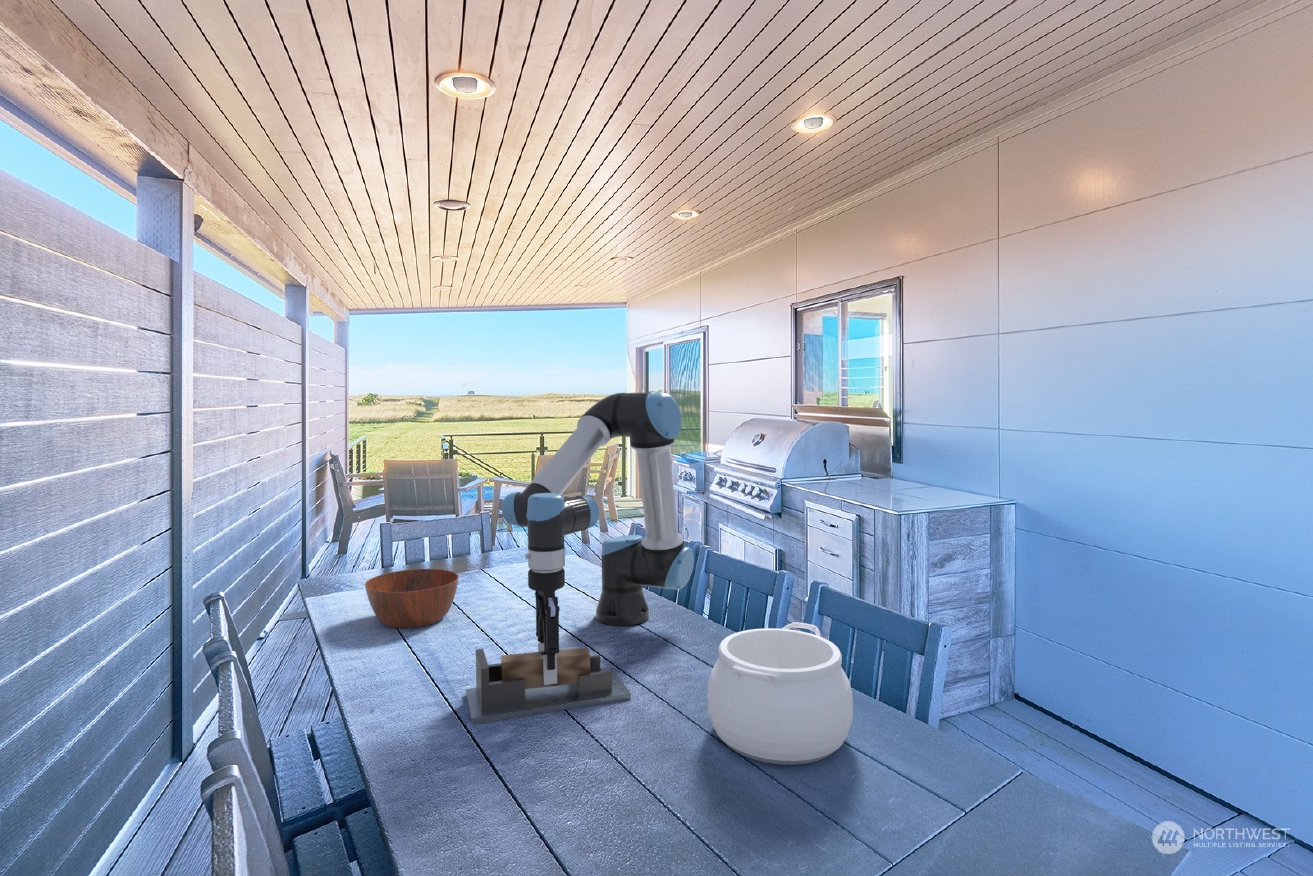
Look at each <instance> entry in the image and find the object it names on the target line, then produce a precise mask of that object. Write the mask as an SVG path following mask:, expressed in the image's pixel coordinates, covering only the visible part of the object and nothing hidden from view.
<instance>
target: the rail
mask: <svg viewBox="0 0 1313 876" xmlns="http://www.w3.org/2000/svg"><path fill="white" fill-rule="evenodd" d="M559 650H560V651H559V653H557V683H556V684H549V685H544V684H543V655H541V652H538V651H536V652H524V653H513V654H502V655H501V656H500V657H501V666H502V681H503V680H510V679H518V678H524V679H525V689H532V688H541V687H551V686H560V685H569V684H578V675H580V674H586V673H590V656H591V654H590V651H589V648H588V647H577V648H567V649H559Z"/></svg>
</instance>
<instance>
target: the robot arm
mask: <svg viewBox="0 0 1313 876" xmlns="http://www.w3.org/2000/svg"><path fill="white" fill-rule="evenodd" d="M681 425H682V414H681V410H680V407H679V404H678V402H677V401H676V400H675V398H674V397H673V396H672V395H670V394H669V393H664V392H655V391H654V392H653V391H651V392H649V391H647V392H644V391H643V392H616V393H613V394H610V395H607V396H605V397H604V398H602V399H600V400H599V401H598V402H596V403H595V404H593V405H592V406H591V407H590V408H588V410H586V411H585V412H584V414H583V415H581V416H580V418H579V419H578V420H577V424H576V428H575V429H574V431H573V432H572V433H571V435H570V436H569V437H568V438H567V439H566V440H565V441H564V443H562V445H561V446H560V447H559V449H558V450H557V451H556V452H555V453H554V455H552V457H551V458H550V459H549V460H548V461H547V463H546V464H544V466H543V467H542V468H541V470H540V471H539V472H538V473H537V474H536V476H534V478H533V479H532V481H530V483H529V484H528V485H527V486H526V488H525V489H523V491H522V492H520V491H517V492H511V493H509V494H507V495H506V496H505V497H504V499H503V501H502V505H501V514H502V517H503V519H504V521H505V522H506V523H507V524H510V525H512V526H517V527H520V528H523V527H524V528H525V527H526V528H527V551H528V553H526V554H525V555H524V557H525V559H526V560H528V561H527V567H528V568H529V569H528V572H527V584H528V585H527V586H528V588H529V589H530V590H532V591H535V592H534V596H535V635H536V637H537V642H538V644H537V646H538V647H537V652H541V655H543V684H544V685H549V684H556V683H557V653H559V651H560V650H561V649H560V622H559V621H560V620H559V619H560V610H561V609H560V606H559V598H558V596H556V591H558V590H560V589H562V588H564V587H565V584H566V575H565V573H566V571H565V569H564V567H565V565H566V548H565V536H567V535H570V534H571V535H572V534H574V533H578V532H582V531H583V532H584V531H586V530H587V529H590V528H592V527H594V526H595V525H596V524H597V523H598V521H599V518H600V507H599V504H598V503H597V501H596V500H595V499H594V498H593V497H591V496H589V495H576V496H564V495H563V494H564V492H565V491H566V490H567V488H568V487H570V485H571V483H573V481H574V480H575V479H576V477H577V476H578V475H579V474H580V473H581V471H582V470H583V469H584V467H585V466H586V465H587V463H588V462H589V460H591V458H592V457H593V456H594V455H595V453H596V452H597V451H598V450H599V448H601V447H604V446H605V445H607V444H608V443H609V442H610V441H611V440H612V439H614V438H619V437H622V438H623V437H624V438H629V445H630V448H632V449H633V450H634V451H635V452H636V454H637V465H638V473H639V482H640V483H639V485H640V490H641V491H640V492H641V499H642V500H641V502H642V510H643V521H644V528H645V529H644V530H645V536H644V537H643V536H642V535H640V534H639V535H638V534H632V535H631V534H629V535H628V534H626V535H620V536H614V537H611V538H610V537H609V538H607V539H605V540H604V541H603V542H602V545H601V555H600V557H601V593H600V596H599V600H598V602H597V605H596V609H595V620H596V621H597V622H600V623H602V624H604V625H610V626H622V627H623V626H624V627H625V626H632V625H633V626H634V625H638V624H642V623H644V622H646V621H648V620H649V618H650V608H649V605H648V602H647V598H646V596H645V592H644V586H647V587H654V588H660V589H666V590H681V589H683V588H684V587H685V586H686V585H687V583H688V582H689V581H690V578H691V575H692V573H693V570H694V565H695V555H694V551H693V549H692V548H690V547H689V546H685V538H684V536H683V535H682V534H681V533H679V532H678V524H677V513H676V502H675V491H674V482H673V473H672V472H673V471H672V461H671V452H670V451H671V450H670V449H671V447H672V446H673V445H674V443H675V438H676V437H678V435H679V434H680V432H681V430H682V427H681Z"/></svg>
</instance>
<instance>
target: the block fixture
mask: <svg viewBox="0 0 1313 876" xmlns="http://www.w3.org/2000/svg"><path fill="white" fill-rule="evenodd" d="M475 678H476V679H475V681H476V683H475V684H476V685H475V686H476V687H473V688H466V689H465V696H466V697H465V698H466V701H467V707H468V712H469V716H470V722H471V725H477V724H485V723H490V722H496V721H503V720H507V719H514V718H520V717H527V716H533V715H534V716H535V715H539V714H546V713H551V712H552V713H553V712H559V711H564V710H571V709H576V708H583V707H589V706H594V705H595V706H596V705H601V704H607V703H614V702H621V701H627V700H631V699H632V697H631V696H632V694H631V692H630V690H629V689H628V687H627V686H626V685H625V684H624V682H623V681H622V679H620V677H619V675H618V674H617V673H616V671H614V669H613V668H612V667H611V668H604V669H602V668H601V655H600V654H597V655H596V654H595V655H590V673H586V674H580V675H578V684H569V685H560V686H551V687H541V688H532V689H525V679H524V678H518V679H510V680H503V681H502V666H501V663H500V662H499V663H492V664H491V663H490V664H488V661H487V657H486V653H485V649H484V648H477V649H475Z"/></svg>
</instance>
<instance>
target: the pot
mask: <svg viewBox="0 0 1313 876" xmlns="http://www.w3.org/2000/svg"><path fill="white" fill-rule="evenodd" d="M792 628H793V629H792ZM796 628H798V629H799V628H800V629H805V630H809V631H811V632H814V633H815V634H813V633H810V632H806V631H802V630H795V629H796ZM842 656H843V654H842V653H841V651H840V648H839V647H838V646H837V645H835V643H833V642H832V641H830V640H828V639H827V638H824V637H822V636H821V630H820V629H819V627H818V626H816V625H814V624H811V623H806V622H796V621H795V622H794V621H792V623H789V624H786V625H784V627H782V628H774V627H773V628H771V627H769V628H768V627H767V628H754V629H747V630H742V631H738V632H734V633H732V634H730V635H728V636H726V637H725V638H724V639H723V640H721V642H720V644H719V646H718V659H717V660H716V662H715V664H714V665H713V667H712V669H711V672H710V675H709V680H708V683H707V684H708V685H707V692H706V693H707V699H706V700H707V711H708V716H709V718H710V722H711V724H712V726H713V727H714V728H713V729H714V730H715V733H716V735H717V736H718V737H719V738H720V739H721V740H722V741H723V742H724V743H725V745H726V746H727V747H729V748H730V749H732V751H734V752H735V753H738V754H739V755H742V756H744V757H746V758H749V759H752V760H755V761H759V762H762V763H766V764H767V763H768V764H772V765H773V764H774V765H785V766H786V765H788V766H792V765H793V766H794V765H795V766H796V765H805V764H810V763H816V762H818V761H820V760H824V759H826V758H828V757H830V756H831V755H833V754H834V753H835V752H836V751H837V750H838V749H839V748H840V747H841V746H842V745H843V744H844V743H845V741H846V739H847V736H848V734H849V733H850V729H851V726H852V723H853V716H854V702H853V701H854V699H853V691H852V687H851V683H850V680H849V678H848V676H847V674H846V672H845V670H844V669H843V668H842V663H843V659H842Z"/></svg>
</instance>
